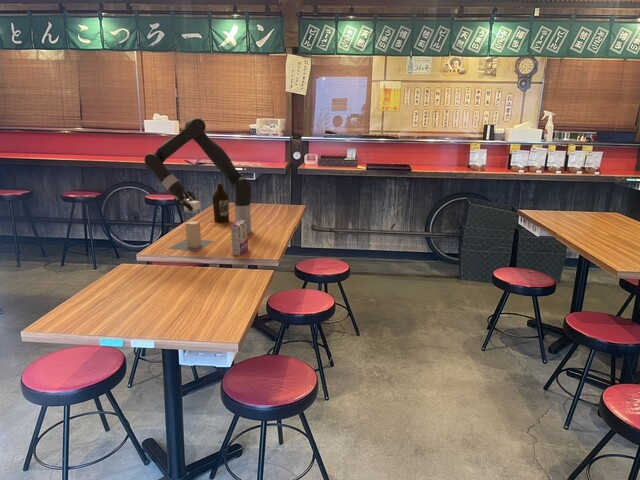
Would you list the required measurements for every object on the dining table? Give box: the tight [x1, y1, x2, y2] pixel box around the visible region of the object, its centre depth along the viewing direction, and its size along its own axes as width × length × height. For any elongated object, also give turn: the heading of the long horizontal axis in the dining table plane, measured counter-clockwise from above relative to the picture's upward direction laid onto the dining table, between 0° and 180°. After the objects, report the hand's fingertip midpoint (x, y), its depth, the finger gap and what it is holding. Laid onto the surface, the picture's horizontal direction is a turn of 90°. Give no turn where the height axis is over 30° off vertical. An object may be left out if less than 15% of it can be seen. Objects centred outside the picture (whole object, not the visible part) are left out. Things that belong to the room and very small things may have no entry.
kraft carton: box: [185, 220, 202, 248], centre depth 262 cm, size 5×5×13 cm
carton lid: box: [183, 200, 201, 213], centre depth 257 cm, size 6×6×5 cm
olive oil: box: [211, 182, 230, 223], centre depth 319 cm, size 11×11×25 cm
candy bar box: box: [230, 220, 249, 256], centre depth 254 cm, size 11×5×16 cm, turn 168°
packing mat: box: [167, 238, 215, 252], centre depth 266 cm, size 20×17×1 cm
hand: (194, 208), depth 257 cm, fingers closed on carton lid, 6 cm apart
